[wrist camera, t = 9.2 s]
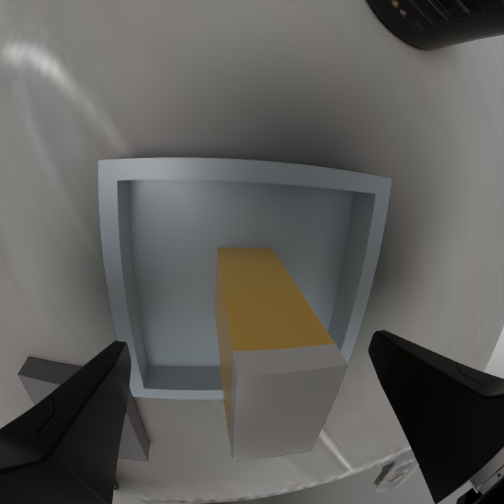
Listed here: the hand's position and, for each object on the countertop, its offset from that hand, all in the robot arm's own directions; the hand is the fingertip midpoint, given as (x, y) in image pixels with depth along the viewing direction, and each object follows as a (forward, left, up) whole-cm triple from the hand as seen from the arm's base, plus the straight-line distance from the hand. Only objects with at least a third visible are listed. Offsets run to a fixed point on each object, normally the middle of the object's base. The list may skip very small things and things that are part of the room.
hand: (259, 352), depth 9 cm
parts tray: (0, 0, -6) cm, 6 cm away
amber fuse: (0, 0, -5) cm, 5 cm away
